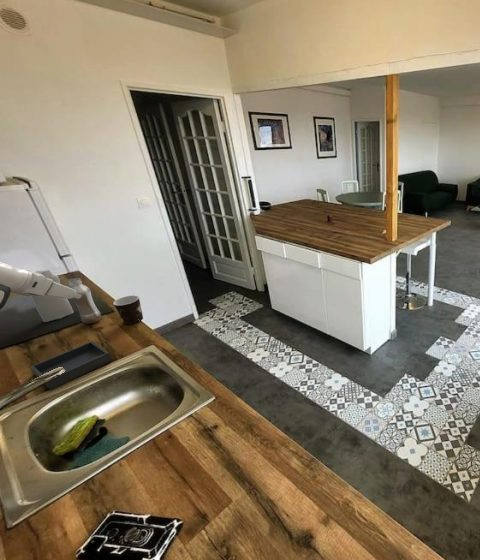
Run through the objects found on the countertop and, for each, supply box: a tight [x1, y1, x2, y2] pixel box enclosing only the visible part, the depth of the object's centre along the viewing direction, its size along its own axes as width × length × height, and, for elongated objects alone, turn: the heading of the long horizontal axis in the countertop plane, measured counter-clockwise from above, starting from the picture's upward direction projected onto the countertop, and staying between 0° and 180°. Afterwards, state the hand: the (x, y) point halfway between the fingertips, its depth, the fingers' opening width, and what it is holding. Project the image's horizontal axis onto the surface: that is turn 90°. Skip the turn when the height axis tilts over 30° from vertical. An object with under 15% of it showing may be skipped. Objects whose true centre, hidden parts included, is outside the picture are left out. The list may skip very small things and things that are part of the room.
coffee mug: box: [112, 294, 144, 325], centre depth 132 cm, size 12×9×10 cm
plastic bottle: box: [67, 277, 102, 325], centre depth 129 cm, size 6×7×20 cm
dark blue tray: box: [29, 340, 113, 391], centre depth 107 cm, size 17×14×4 cm
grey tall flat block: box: [30, 269, 75, 323], centre depth 132 cm, size 11×4×22 cm, turn 146°
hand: (71, 294), depth 125 cm, fingers open, 8 cm apart
